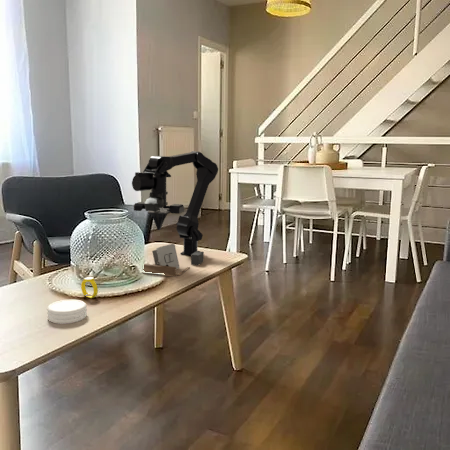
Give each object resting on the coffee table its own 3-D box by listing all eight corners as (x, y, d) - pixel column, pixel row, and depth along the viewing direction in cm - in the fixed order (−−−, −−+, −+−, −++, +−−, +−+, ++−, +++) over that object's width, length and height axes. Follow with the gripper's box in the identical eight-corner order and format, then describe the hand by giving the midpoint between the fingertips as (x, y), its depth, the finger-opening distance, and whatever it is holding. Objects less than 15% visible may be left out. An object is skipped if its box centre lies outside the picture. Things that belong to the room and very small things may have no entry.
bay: (153, 264, 183) (153, 256, 183) (190, 267, 179) (190, 259, 179) (139, 272, 172) (139, 264, 171) (177, 276, 168) (177, 268, 167)
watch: (79, 297, 146) (78, 277, 145) (87, 294, 148) (85, 275, 148) (92, 300, 143) (91, 280, 142) (100, 297, 145) (98, 278, 144)
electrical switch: (163, 274, 171) (161, 248, 170) (152, 273, 174) (150, 247, 172) (180, 268, 178) (178, 243, 177) (169, 267, 181) (167, 243, 180)
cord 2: (196, 261, 190) (196, 251, 189) (203, 261, 189) (203, 251, 188) (190, 264, 184) (191, 254, 183) (198, 265, 183) (198, 255, 183)
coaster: (73, 308, 137) (72, 296, 136) (94, 317, 130) (94, 304, 130) (40, 317, 129) (39, 305, 128) (61, 327, 123) (60, 314, 122)
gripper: (126, 190, 179) (127, 231, 182) (173, 193, 174) (173, 235, 177) (139, 187, 190) (140, 226, 193) (184, 189, 185) (184, 230, 188)
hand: (158, 229), depth 187 cm, fingers closed
